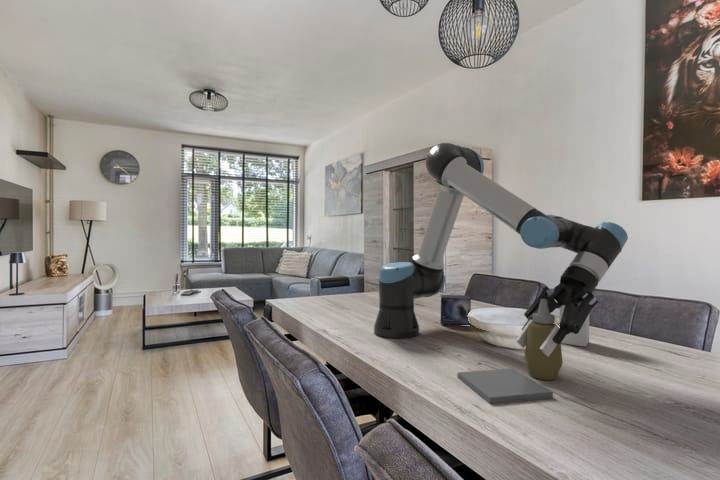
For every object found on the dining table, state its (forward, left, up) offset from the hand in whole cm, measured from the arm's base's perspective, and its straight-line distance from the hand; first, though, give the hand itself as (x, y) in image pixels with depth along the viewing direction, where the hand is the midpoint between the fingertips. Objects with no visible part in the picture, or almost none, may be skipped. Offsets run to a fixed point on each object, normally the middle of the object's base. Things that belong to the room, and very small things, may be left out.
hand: (531, 348), depth 88 cm
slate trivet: (+3, -9, -7) cm, 12 cm away
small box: (-54, +7, -7) cm, 55 cm away
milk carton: (-24, +32, -7) cm, 40 cm away
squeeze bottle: (-1, +4, -7) cm, 8 cm away
